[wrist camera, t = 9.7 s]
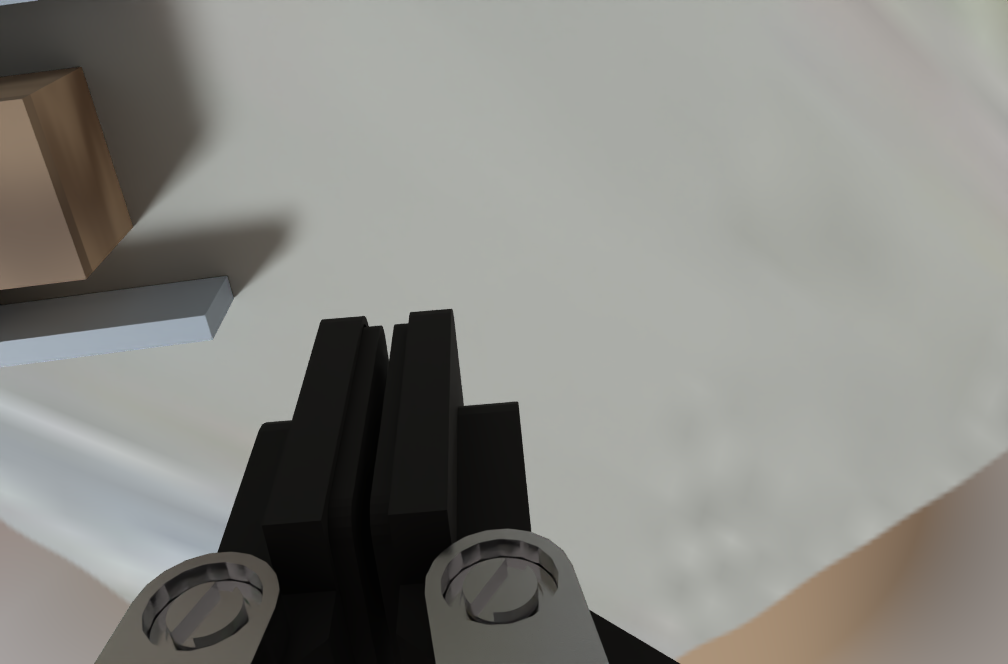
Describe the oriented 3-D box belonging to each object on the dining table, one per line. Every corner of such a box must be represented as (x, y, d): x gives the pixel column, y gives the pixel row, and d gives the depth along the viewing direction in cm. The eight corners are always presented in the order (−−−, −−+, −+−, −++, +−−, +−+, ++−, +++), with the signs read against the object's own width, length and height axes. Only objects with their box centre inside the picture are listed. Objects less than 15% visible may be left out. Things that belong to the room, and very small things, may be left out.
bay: (-165, -14, 30) (-237, 0, 27) (132, -55, 30) (94, -45, 27) (-15, 331, 36) (-59, 374, 33) (233, 298, 36) (212, 340, 33)
